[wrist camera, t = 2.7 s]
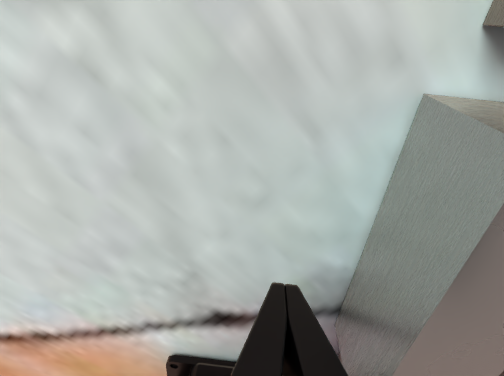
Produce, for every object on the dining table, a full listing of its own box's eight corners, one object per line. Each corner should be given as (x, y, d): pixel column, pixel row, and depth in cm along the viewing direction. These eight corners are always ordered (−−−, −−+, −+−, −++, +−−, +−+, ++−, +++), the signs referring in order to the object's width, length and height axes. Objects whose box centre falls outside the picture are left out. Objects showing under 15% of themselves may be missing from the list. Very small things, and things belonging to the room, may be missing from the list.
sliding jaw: (402, 333, 15) (447, 443, 11) (334, 324, 15) (355, 432, 11) (537, 106, 9) (741, 172, 5) (423, 93, 9) (537, 150, 5)
